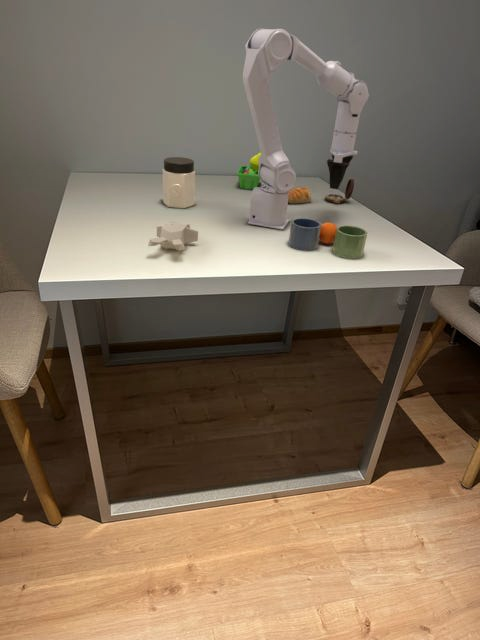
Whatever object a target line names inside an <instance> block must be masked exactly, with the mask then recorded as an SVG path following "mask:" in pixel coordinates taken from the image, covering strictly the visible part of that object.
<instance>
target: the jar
mask: <svg viewBox="0 0 480 640" xmlns="http://www.w3.org/2000/svg"><path fill="white" fill-rule="evenodd" d="M194 169H195V161H194V159H191V158H188V157H181V156H171V157H166V158H164V159H163V168H162V203H163V204H165V205H166V207H168V208H175V209H186V208H191V207H193V206H195V200H196V199H195V196H196V171H195V170H194Z"/></svg>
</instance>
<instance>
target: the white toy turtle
mask: <svg viewBox="0 0 480 640" xmlns="http://www.w3.org/2000/svg"><path fill="white" fill-rule="evenodd" d="M198 240H199V231H198V230H195V229H192V228H191V226H190V224H189V223H180V222H172V221H170V224H164V225H161V226H157V227H156V237H154V238H151V239H149V241H148V243H147V246H148V247H156V246H158V245H160V247H161V248H163V250H165V251H168V250H169V249H171V250H172V249H173V250H175V251H176V252H180V251H184V250H186V247H185V245H187V244H191V243H195V242H198Z"/></svg>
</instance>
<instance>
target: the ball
mask: <svg viewBox="0 0 480 640" xmlns="http://www.w3.org/2000/svg"><path fill="white" fill-rule="evenodd" d="M337 227H338V226H337V225H336V224H334V223H333V222H324V223H323V224H322V226H321V232H320V238H319V242H322V243H323V244H326V245H329V244H333V243H334V239H335V234H336V229H337Z"/></svg>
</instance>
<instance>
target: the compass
mask: <svg viewBox="0 0 480 640" xmlns="http://www.w3.org/2000/svg"><path fill="white" fill-rule="evenodd" d="M354 188H355V179H354V178H351V177H349V180H347V183H346V186H345V191H344V196H342V194H341V195H340V194H335V193H329V194H327V195H326V196H325V197H324V200H325V201H326V202H328V203H333V204H344V203H345V202H346V200H349V199H350V198H351V197H352V195H353V192H354Z"/></svg>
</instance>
